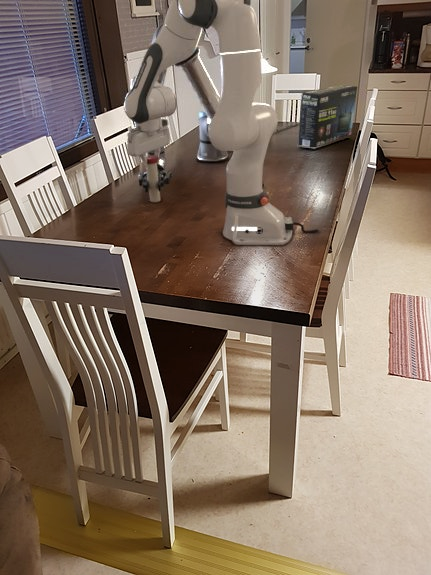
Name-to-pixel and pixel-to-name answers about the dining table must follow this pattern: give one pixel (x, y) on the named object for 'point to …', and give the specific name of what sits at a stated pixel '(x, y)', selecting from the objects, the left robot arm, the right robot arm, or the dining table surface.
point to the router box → (326, 115)
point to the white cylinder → (153, 182)
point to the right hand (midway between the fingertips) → (151, 162)
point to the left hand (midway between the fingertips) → (152, 188)
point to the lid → (152, 159)
